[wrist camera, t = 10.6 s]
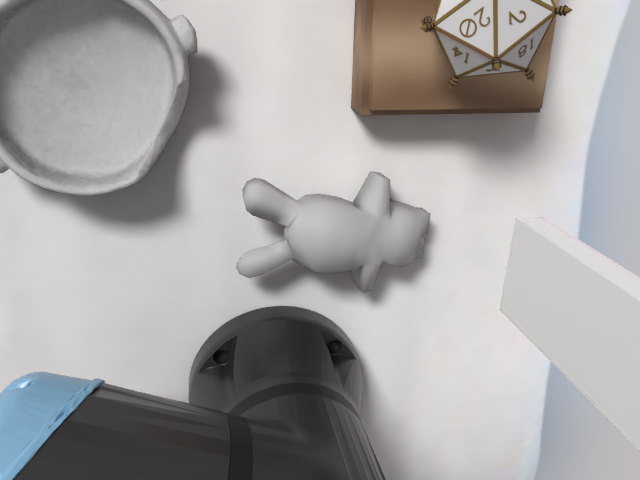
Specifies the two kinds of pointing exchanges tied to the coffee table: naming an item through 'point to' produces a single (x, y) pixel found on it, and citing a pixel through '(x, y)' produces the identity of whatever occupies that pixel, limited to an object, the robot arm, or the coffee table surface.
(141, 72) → the dish
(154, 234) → the coffee table surface
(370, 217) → the grey teddy bear
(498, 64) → the game die
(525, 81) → the plinth
